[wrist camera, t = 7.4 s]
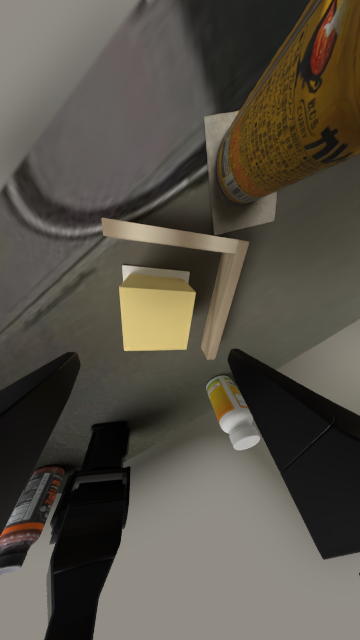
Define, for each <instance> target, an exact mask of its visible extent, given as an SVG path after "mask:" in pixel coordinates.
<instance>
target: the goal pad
mask: <svg viewBox="0 0 360 640" xmlns="http://www.w3.org/2000/svg"><path fill="white" fill-rule="evenodd" d="M122 268H123V282H124V281H125V279H126V278H127V277H128V276H129V275H130V274H140V275H151V276H162V277H174V278H183V279H184V280H185V282H186V283H187V284H188V282H189V275H190V272H188V271H178V270H168V269H158V268H148V267H138V266H127V265H122Z"/></svg>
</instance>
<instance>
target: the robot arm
mask: <svg viewBox="0 0 360 640" xmlns="http://www.w3.org/2000/svg"><path fill="white" fill-rule="evenodd" d="M228 363H229V366H230V369H231V371H232V374H233V377H234V379H235V382H236V384H237V386H238V388H239V390H240V392H241V394H242V396H243V398H244V400H245V402H246V404H247V407H248V409H249V411H250V413H251V415H252V417H253V419H254V421H255V423H256V425H257V427H258V429H259V431H260V433H261V435H262V437H263V438H264V441H265V443H266V445H267V447H268V449H269V451H270V453H271V455H272V457H273V459H274V461H275V463H276V465H277V467H278V469H279V471H280V473H281V475H282V478H283V480H284V482H285V484H286V486H287V488H288V490H289V492H290V494H291V496H292V498H293V500H294V502H295V504H296V506H297V508H298V510H299V512H300V514H301V516H302V518H303V520H304V523H305V524H306V527H307V529H308V531H309V533H310V535H311V537H312V539H313V541H314V543H315V545H316V547H317V549H318V551H319V553H320V554H321V556H322V558H323V559H324V560H325V559H330V558H335V557H339V556H344V555H348V554H353V553H358V552H360V416H359V415H357V414H355V413H353V412H352V411H350V410H347V409H346V408H344V407H342V406H340V405H338V404H336V403H333V402H332V401H330V400H328V399H326V398H325V397H323V396H321V395H319V394H317V393H315V392H313V391H311V390H310V389H308V388H306V387H304V386H303V385H301V384H299V383H297V382H296V381H294V380H292V379H290V378H289V377H287V376H285V375H283V374H281V373H280V372H278V371H276V370H274V369H273V368H271V367H269V366H267V365H266V364H264V363H262V362H260V361H259V360H257V359H255V358H253V357H252V356H250V355H248V354H246V353H245V352H243V351H241V350H239V349H231V350H230V353H229V356H228ZM79 369H80V360H79V357H78V354H77V353H76V352H67V353H65V354H63V355H62V356H60V357H58V358H56V359H55V360H53V361H51V362H49V363H48V364H46V365H44V366H42V367H41V368H39V369H37V370H35V371H34V372H32V373H30V374H28V375H27V376H25V377H23V378H21V379H20V380H18V381H16V382H14V383H13V384H11V385H9V386H7V387H6V388H4V389H2V390H0V536H1V534H2V532H3V530H4V528H5V526H6V524H7V522H8V520H9V518H10V516H11V514H12V512H13V510H14V508H15V506H16V504H17V502H18V500H19V497H20V496H21V494H22V492H23V490H24V488H25V486H26V484H27V482H28V479H29V477H30V475H31V473H32V471H33V469H34V467H35V465H36V463H37V461H38V459H39V457H40V455H41V453H42V451H43V449H44V447H45V445H46V443H47V441H48V439H49V437H50V435H51V433H52V431H53V429H54V427H55V425H56V423H57V421H58V419H59V417H60V415H61V413H62V411H63V409H64V407H65V405H66V403H67V401H68V398H69V396H70V394H71V391H72V388H73V386H74V383H75V380H76V378H77V375H78V372H79ZM91 433H92V436H91V440H90V443H89V446H88V449H87V452H86V455H85V458H84V462H83V465H82V468H81V471H79V470H75V471H74V474H72V475H70V476H68V479H67V482H66V485H65V487H64V490H63V493H62V495H61V498H60V500H59V503H58V505H57V508H56V510H55V512H54V515H53V517H52V520H51V523H50V525H51V528H52V532H51V535H52V537H51V541H50V544H54V543H56V544H55V547H54V550H53V553H52V556H51V560H50V565H49V569H48V573H47V604H48V605H47V606H48V628H47V631H46V635H45V638H44V640H93V633H94V626H95V620H96V613H97V606H98V599H99V596H100V593H101V591H102V588H103V586H104V583H105V581H106V578H107V576H108V573H109V570H110V568H111V566H112V563H113V561H114V558H115V556H116V553H117V551H118V548H119V546H120V542H121V534H122V529H124V528H125V524H126V520H127V514H128V507H129V491H130V467H126V468H123V465H124V462H126V461H127V458H128V450H129V441H130V430H129V429H128V427H127V422H119V423H111V424H103V425H95V426H92V427H91ZM74 488H78V489H75V490H74ZM73 490H74V491H73ZM359 575H360V573H359Z"/></svg>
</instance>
